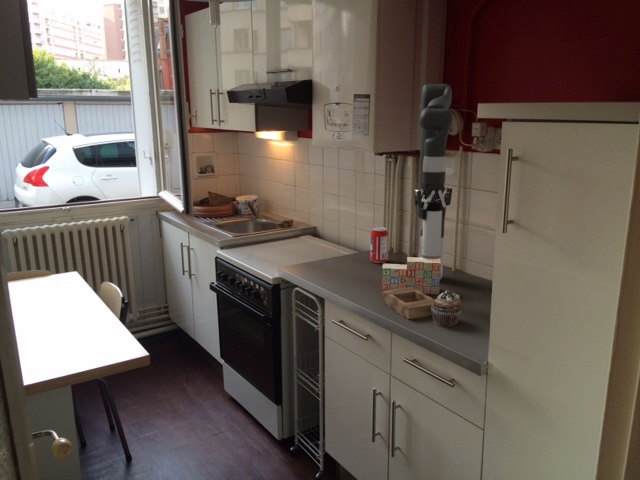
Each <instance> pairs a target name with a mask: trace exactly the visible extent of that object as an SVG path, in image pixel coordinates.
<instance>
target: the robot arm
mask: <svg viewBox="0 0 640 480" xmlns="http://www.w3.org/2000/svg"><path fill="white" fill-rule="evenodd" d="M452 96H453V91H452V88H451V85H449V84H447V83H430V84H424V85H423V86H422V90H421V113H420V116H419V126H420V127H421V133H420V134H421V135H420V149H419V150H420V151H419V152H420V153H419V154H420V155H419V158H420V159H419V187H418V189H414V190H413V194H414V197H413V198H414V206H415V207H417V210H416V211H417V216H418V218H419V219H421V220H422V221H423V220H426V216H427V209H426V208H427V205H428V204H427V203H428V202H430V201H434V202H436V203H440V202H441V203H442V225H441V252H440V258H438V259H440V260H441V267H440V270H441V274H440V280H442V279H443V270H444V268H443V267H444V250H445V249H444V246H445V223H446V222H445V220H446V212H447V211H446V210H447V207H448V206H450V205H451V201H452V196H453V188H452V187H448V186H446V187H445V183H446V172H447V171H446V169H447V167H446V166H447V163H446V162H447V161H446V151H447V150H446V149H447V141H448V136H449V132H450V129H451V127H452V123H453V118H454V116H453V113H452V111H451V110H450V109H449V108H450V106H451V104H452V98H453V97H452ZM424 202H425V203H424ZM419 239H420V241H419V252H418V258H423V257H422V241H423V227H422V228H421V229H420V238H419Z"/></svg>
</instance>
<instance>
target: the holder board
mask: <svg viewBox="0 0 640 480" xmlns="http://www.w3.org/2000/svg"><path fill="white" fill-rule="evenodd" d="M381 293H382V294H381V295H382V300H381V301H382V303H383V304H385V305H386V306H388V307H389V308H390V307H391V309H392V310H393V309H394V311H395V312H396V311H397V312H396V313H398V314H399V313H400V314H399V315H401V316H402V315H403V316H402V317H404V318H405V317H406V319H407V320H408V319H410V320H415V319H419V318H421V319H422V318H426V317H432V310H431V306H432V304H434V300H435V299H434V298H433V297H431V296H429V295H428V294H424V293H422V292H420V291H418V290H417V289H415V288H413V287H407V288H401V289H394V290H387V291H382V290H381ZM414 318H415V319H414Z"/></svg>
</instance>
